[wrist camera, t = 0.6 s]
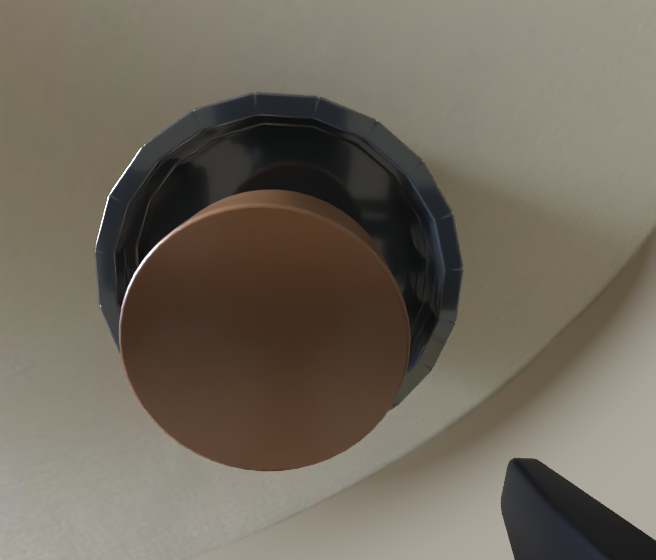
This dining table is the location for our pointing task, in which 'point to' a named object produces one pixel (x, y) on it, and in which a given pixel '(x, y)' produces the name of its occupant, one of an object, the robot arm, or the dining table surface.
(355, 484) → the dining table surface
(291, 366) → the mushroom
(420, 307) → the container
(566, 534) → the robot arm
